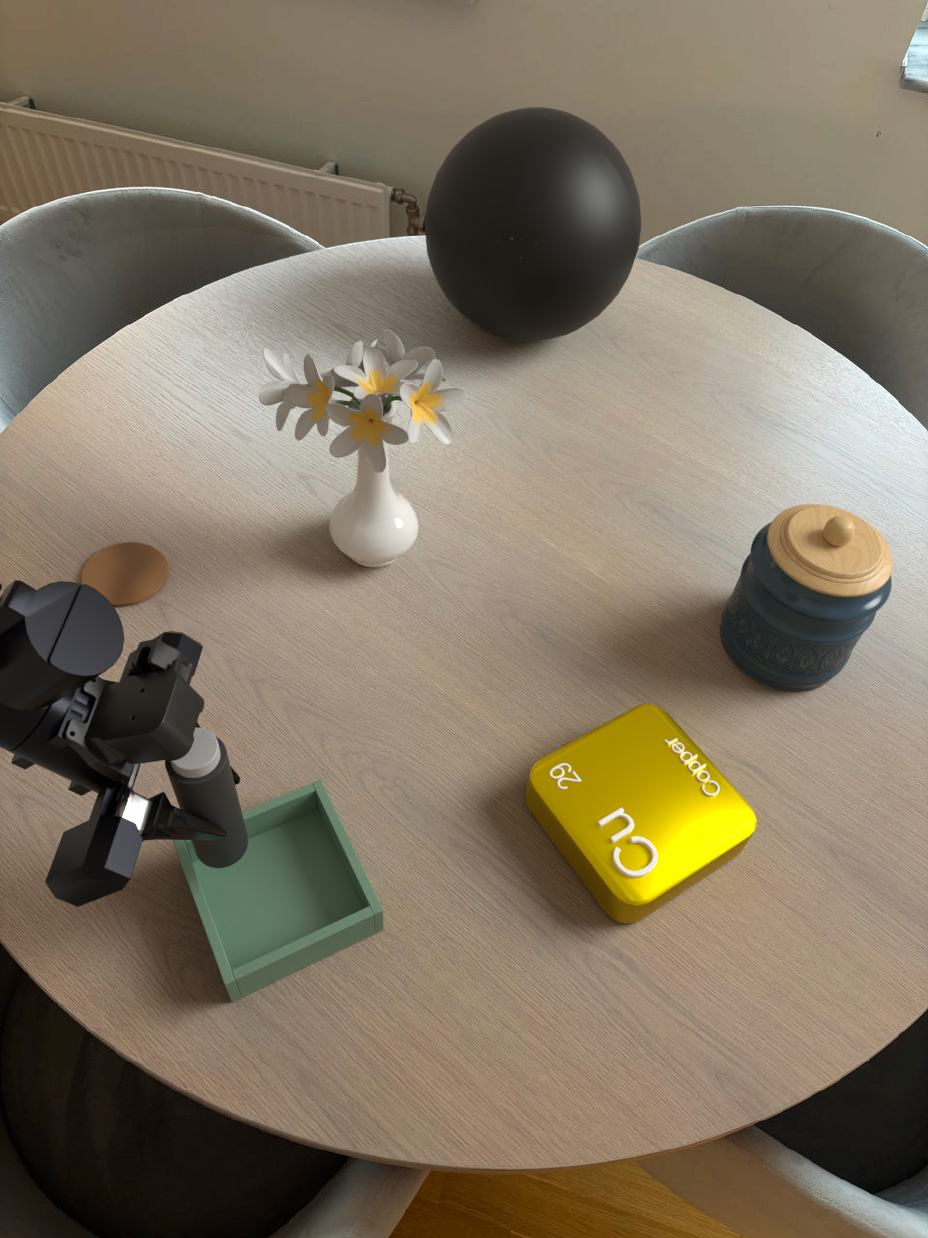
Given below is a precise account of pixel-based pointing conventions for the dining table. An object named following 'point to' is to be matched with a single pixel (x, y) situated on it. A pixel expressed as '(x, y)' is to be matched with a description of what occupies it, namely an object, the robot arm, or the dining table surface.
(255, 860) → the box
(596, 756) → the element tile
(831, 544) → the canister
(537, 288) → the ball
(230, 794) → the salt mill
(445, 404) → the flower vase
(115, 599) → the coaster
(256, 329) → the dining table surface
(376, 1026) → the dining table surface
